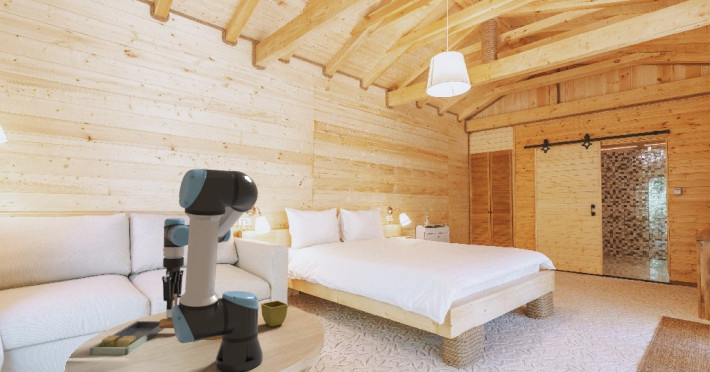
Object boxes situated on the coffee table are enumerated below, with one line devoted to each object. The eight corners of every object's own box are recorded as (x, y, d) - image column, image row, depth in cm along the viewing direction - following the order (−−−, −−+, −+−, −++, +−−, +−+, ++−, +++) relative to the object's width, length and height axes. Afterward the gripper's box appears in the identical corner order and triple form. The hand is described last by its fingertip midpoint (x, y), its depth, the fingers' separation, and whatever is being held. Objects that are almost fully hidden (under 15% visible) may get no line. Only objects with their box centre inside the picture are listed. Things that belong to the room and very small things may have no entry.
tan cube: (112, 351, 132) (113, 339, 132) (101, 351, 132) (102, 339, 132) (120, 346, 136) (120, 335, 136) (109, 346, 136) (109, 335, 136)
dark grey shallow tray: (146, 343, 140) (147, 335, 140) (112, 343, 140) (112, 335, 140) (167, 328, 156) (167, 321, 156) (136, 328, 156) (136, 321, 156)
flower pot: (277, 319, 169) (278, 300, 169) (288, 325, 162) (288, 304, 163) (260, 324, 163) (260, 303, 163) (270, 329, 156) (270, 308, 157)
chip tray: (127, 357, 128) (127, 348, 128) (89, 356, 128) (90, 348, 128) (146, 343, 140) (147, 335, 140) (112, 343, 140) (112, 335, 140)
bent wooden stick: (180, 328, 147) (181, 295, 148) (159, 328, 147) (160, 295, 147) (183, 326, 150) (184, 293, 150) (162, 325, 150) (163, 293, 150)
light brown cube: (128, 351, 132) (129, 340, 132) (117, 351, 132) (117, 339, 132) (135, 346, 136) (135, 335, 136) (124, 346, 136) (124, 335, 136)
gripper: (173, 253, 157) (172, 309, 156) (153, 260, 141) (152, 322, 141) (191, 253, 157) (190, 309, 156) (173, 260, 141) (172, 322, 141)
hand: (172, 315), depth 149 cm, fingers closed on bent wooden stick, 3 cm apart
